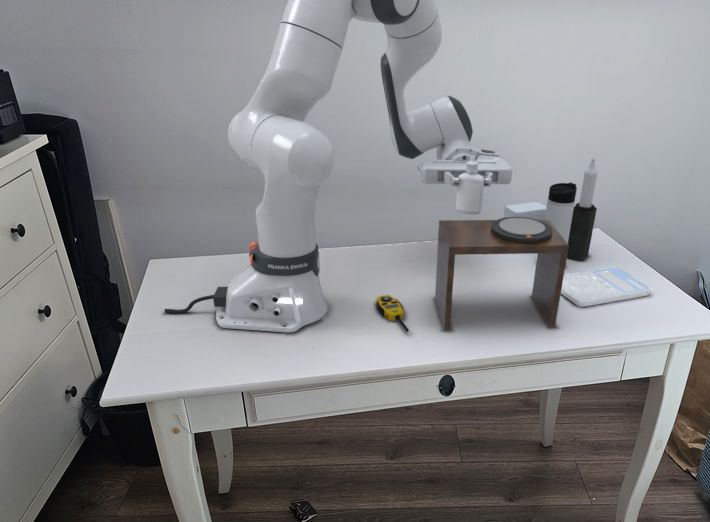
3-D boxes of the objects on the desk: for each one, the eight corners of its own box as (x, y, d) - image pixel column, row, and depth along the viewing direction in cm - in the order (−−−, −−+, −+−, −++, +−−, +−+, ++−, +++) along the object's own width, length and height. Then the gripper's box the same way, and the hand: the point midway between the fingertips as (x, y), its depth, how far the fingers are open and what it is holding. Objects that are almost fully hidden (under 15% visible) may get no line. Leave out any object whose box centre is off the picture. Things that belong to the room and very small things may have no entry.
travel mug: (570, 266, 153) (584, 186, 143) (550, 272, 150) (563, 191, 139) (552, 257, 157) (564, 179, 147) (533, 263, 154) (544, 183, 144)
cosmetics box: (533, 238, 168) (538, 200, 163) (546, 246, 164) (552, 208, 158) (499, 242, 165) (503, 204, 159) (512, 251, 160) (516, 212, 154)
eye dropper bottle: (470, 217, 133) (475, 160, 126) (452, 210, 136) (456, 154, 130) (484, 213, 135) (489, 157, 129) (466, 206, 139) (470, 151, 132)
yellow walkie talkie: (393, 292, 134) (419, 324, 122) (393, 300, 135) (419, 332, 123) (372, 295, 132) (396, 328, 120) (372, 303, 133) (396, 336, 122)
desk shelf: (444, 330, 124) (449, 246, 115) (435, 298, 136) (439, 220, 126) (555, 327, 127) (569, 245, 117) (536, 296, 138) (548, 219, 129)
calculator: (545, 283, 145) (547, 275, 144) (616, 271, 151) (617, 264, 150) (578, 308, 134) (580, 300, 133) (652, 295, 141) (654, 287, 140)
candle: (582, 261, 156) (600, 161, 143) (563, 257, 158) (579, 158, 145) (589, 255, 159) (607, 157, 146) (570, 250, 162) (587, 153, 149)
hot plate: (498, 244, 117) (498, 237, 116) (485, 221, 127) (486, 215, 126) (559, 243, 118) (560, 236, 117) (542, 221, 128) (543, 215, 127)
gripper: (417, 150, 140) (424, 167, 128) (505, 151, 142) (519, 168, 131) (416, 178, 143) (422, 197, 132) (502, 179, 146) (516, 197, 134)
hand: (471, 182), depth 131 cm, fingers closed on eye dropper bottle, 5 cm apart
